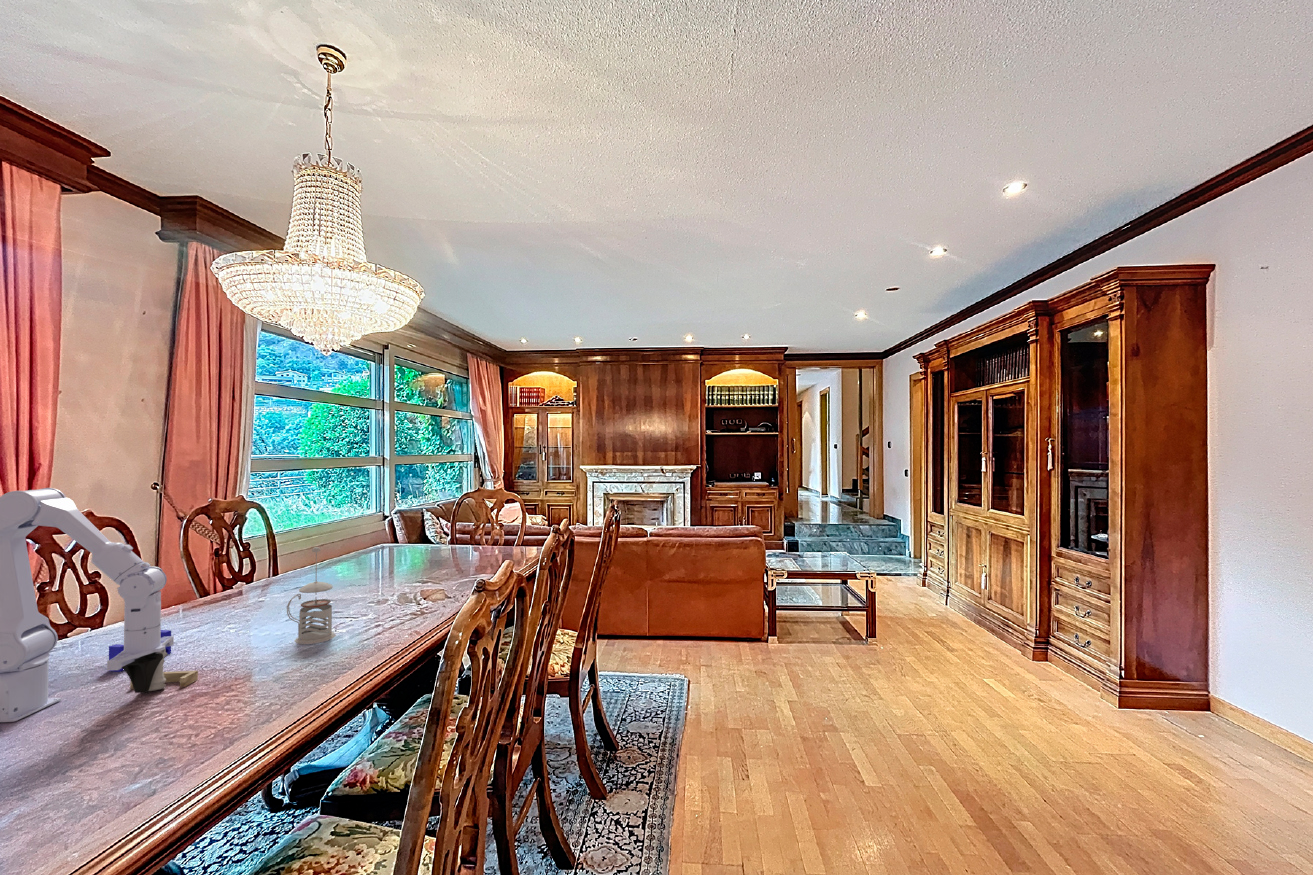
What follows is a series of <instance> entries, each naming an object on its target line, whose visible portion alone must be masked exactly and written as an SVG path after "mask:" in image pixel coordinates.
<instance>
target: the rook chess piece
mask: <svg viewBox="0 0 1313 875" xmlns="http://www.w3.org/2000/svg"><path fill="white" fill-rule="evenodd" d="M157 653H162V654H163V659H162V660H161V661H160V663H159V665H158V666H157V668H156V670H155V673H154V675H153V678H152V681H151V684H150V688H149V690H148V691H147V692H152V691H153V692H154V691H159V690H162V689H164V688H165V687H166V686H167V684H165V682H166V678H164V674H163V672H164V663H165V662H166V661H165V657H166V656H168V655H167V653H166V649H164V650H162V651H160V652H156V654H157ZM166 683H167V682H166Z"/></svg>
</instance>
